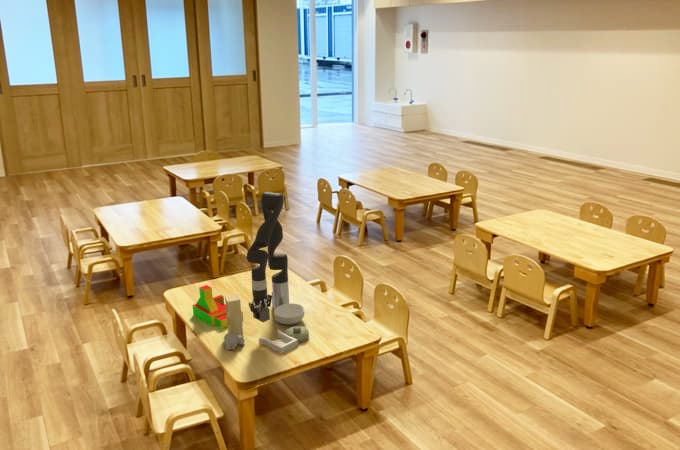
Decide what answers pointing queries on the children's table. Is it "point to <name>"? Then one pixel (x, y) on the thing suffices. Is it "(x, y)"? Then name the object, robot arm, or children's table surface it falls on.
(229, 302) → the toy refrigerator
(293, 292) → the children's table surface
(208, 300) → the building blocks toy
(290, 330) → the grey bracket and lid
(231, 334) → the toy rhinoceros
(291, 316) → the cereal bowl
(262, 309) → the orange-panel grey block
